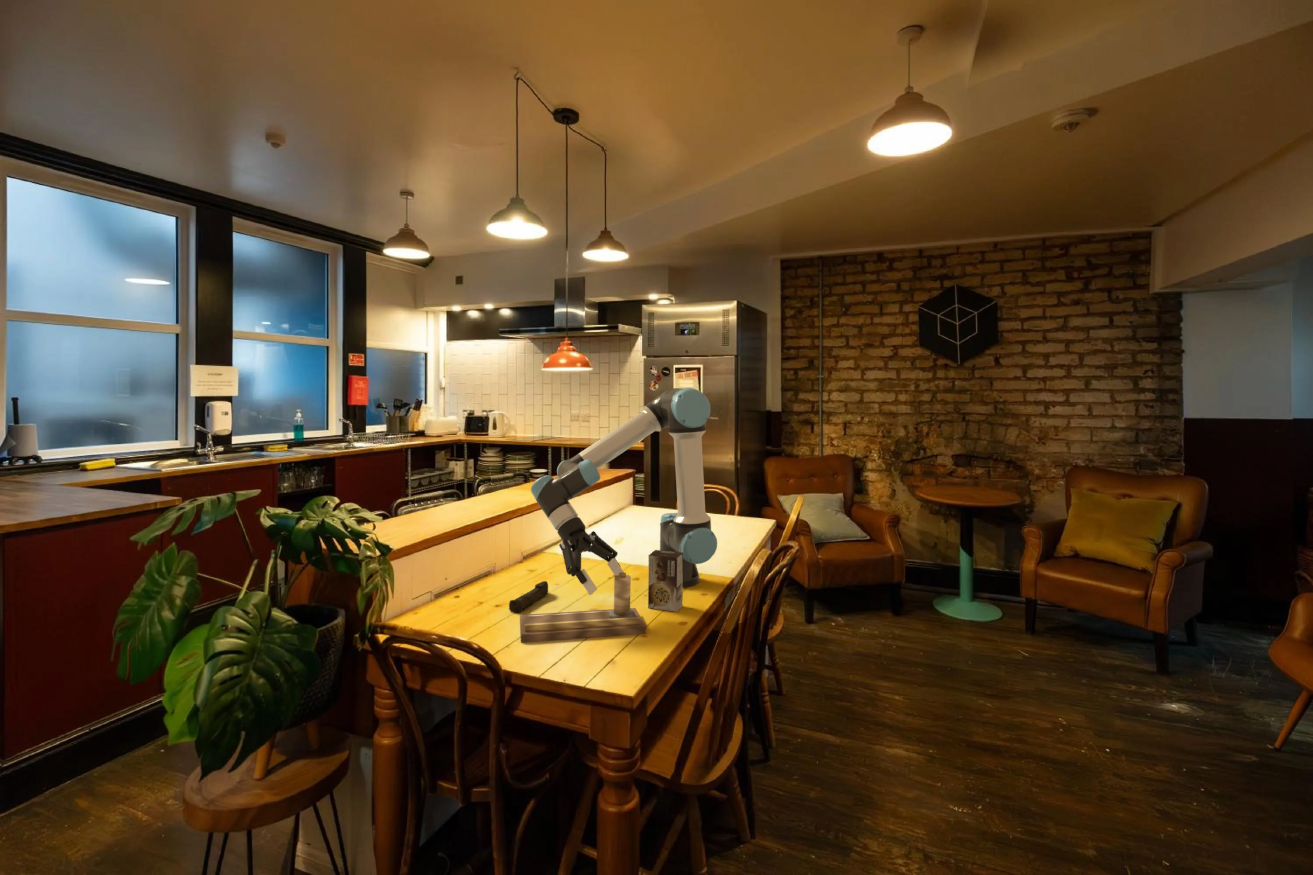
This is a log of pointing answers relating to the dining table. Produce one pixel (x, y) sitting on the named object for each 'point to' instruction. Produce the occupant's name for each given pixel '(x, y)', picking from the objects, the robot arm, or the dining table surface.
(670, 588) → the coffee box
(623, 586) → the peg with round base
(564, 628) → the walnut board
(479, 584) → the dining table surface
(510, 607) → the hand tool
